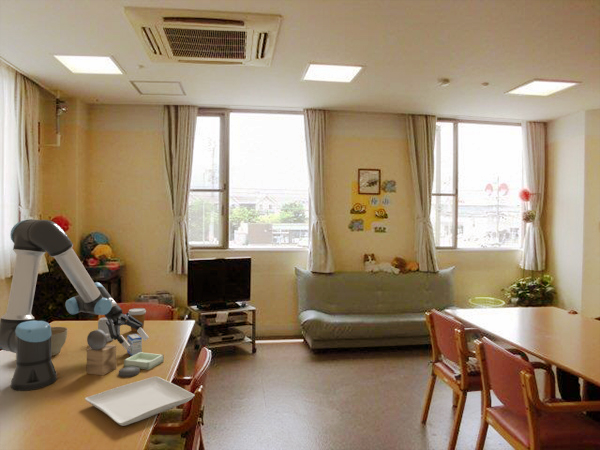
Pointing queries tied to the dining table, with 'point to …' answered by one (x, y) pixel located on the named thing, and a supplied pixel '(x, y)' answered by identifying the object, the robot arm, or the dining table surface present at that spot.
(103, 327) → the can
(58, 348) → the planter bowl
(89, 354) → the pulley stand
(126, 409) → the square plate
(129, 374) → the dark grey round puck
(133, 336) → the medicine box
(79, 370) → the dining table surface
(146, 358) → the tray
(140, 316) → the disposable coffee cup
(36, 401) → the dining table surface
